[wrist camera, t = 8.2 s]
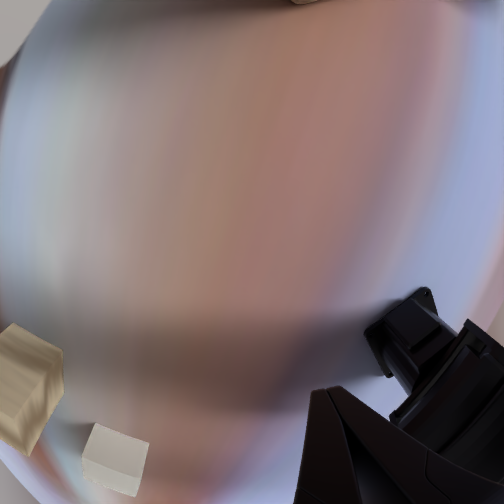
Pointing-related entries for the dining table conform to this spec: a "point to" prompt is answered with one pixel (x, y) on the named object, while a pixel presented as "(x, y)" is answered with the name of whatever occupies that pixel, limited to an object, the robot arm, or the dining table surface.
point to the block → (303, 1)
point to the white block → (114, 460)
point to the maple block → (27, 386)
